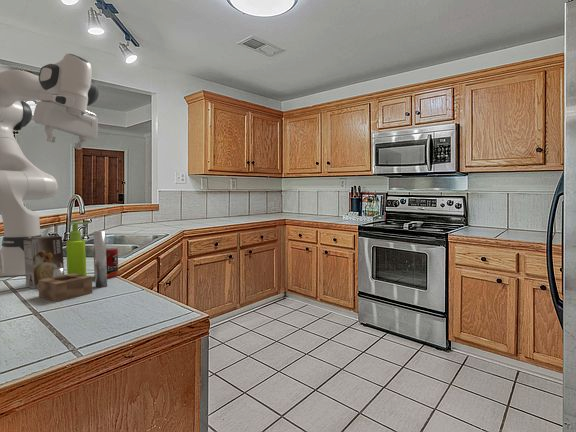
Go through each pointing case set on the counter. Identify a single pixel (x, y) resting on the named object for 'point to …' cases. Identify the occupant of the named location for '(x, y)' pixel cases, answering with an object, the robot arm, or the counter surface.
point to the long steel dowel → (100, 259)
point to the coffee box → (42, 258)
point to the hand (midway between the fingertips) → (64, 145)
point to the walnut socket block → (65, 287)
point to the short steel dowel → (57, 271)
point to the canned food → (111, 261)
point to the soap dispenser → (76, 251)
